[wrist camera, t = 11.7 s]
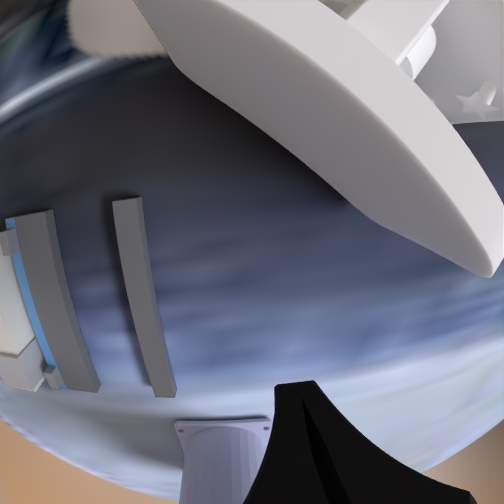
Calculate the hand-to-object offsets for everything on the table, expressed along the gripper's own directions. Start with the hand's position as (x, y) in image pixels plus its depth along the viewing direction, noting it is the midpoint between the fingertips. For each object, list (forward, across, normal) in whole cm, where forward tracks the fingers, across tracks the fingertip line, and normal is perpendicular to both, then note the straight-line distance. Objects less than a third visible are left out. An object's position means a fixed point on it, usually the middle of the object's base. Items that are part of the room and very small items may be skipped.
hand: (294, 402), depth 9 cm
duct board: (+9, +16, 0) cm, 19 cm away
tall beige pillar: (+10, +20, 0) cm, 22 cm away
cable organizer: (+10, -4, -13) cm, 17 cm away
